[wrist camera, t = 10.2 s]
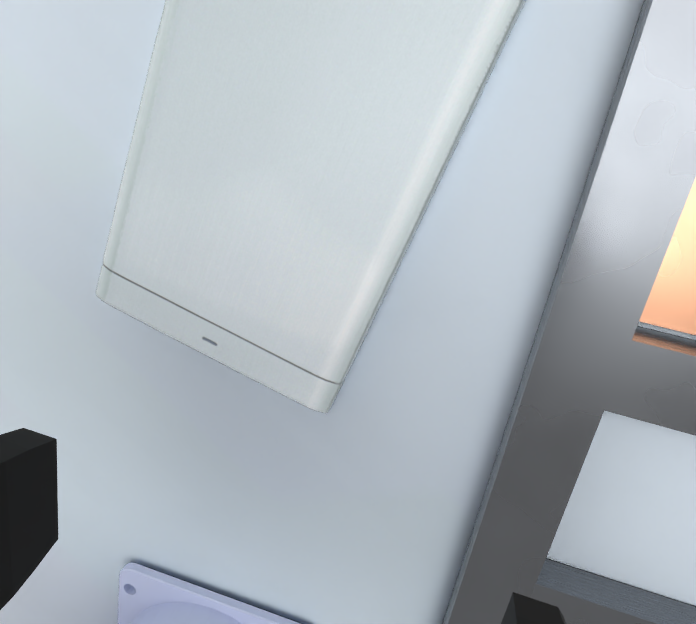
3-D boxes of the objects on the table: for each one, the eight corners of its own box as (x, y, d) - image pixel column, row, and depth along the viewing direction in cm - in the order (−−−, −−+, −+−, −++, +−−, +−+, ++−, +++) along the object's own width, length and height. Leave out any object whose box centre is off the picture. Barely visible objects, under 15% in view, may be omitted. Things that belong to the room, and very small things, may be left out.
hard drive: (198, -171, 14) (86, 297, 19) (535, -24, 13) (323, 421, 18) (230, -145, 15) (118, 282, 20) (533, -13, 14) (338, 395, 19)
